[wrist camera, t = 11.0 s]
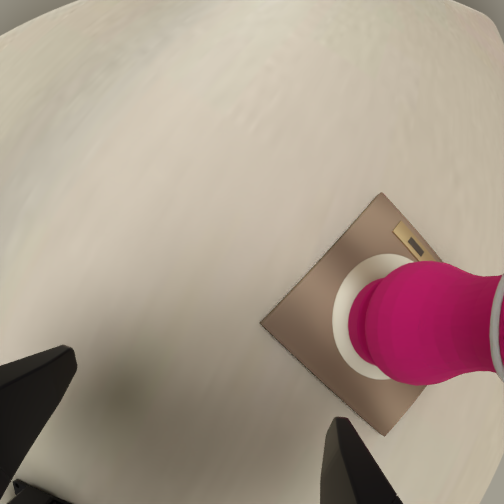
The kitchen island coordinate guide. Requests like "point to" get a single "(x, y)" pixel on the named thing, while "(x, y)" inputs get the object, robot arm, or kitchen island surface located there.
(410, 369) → the pepper mill
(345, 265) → the kitchen scale
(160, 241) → the kitchen island surface
